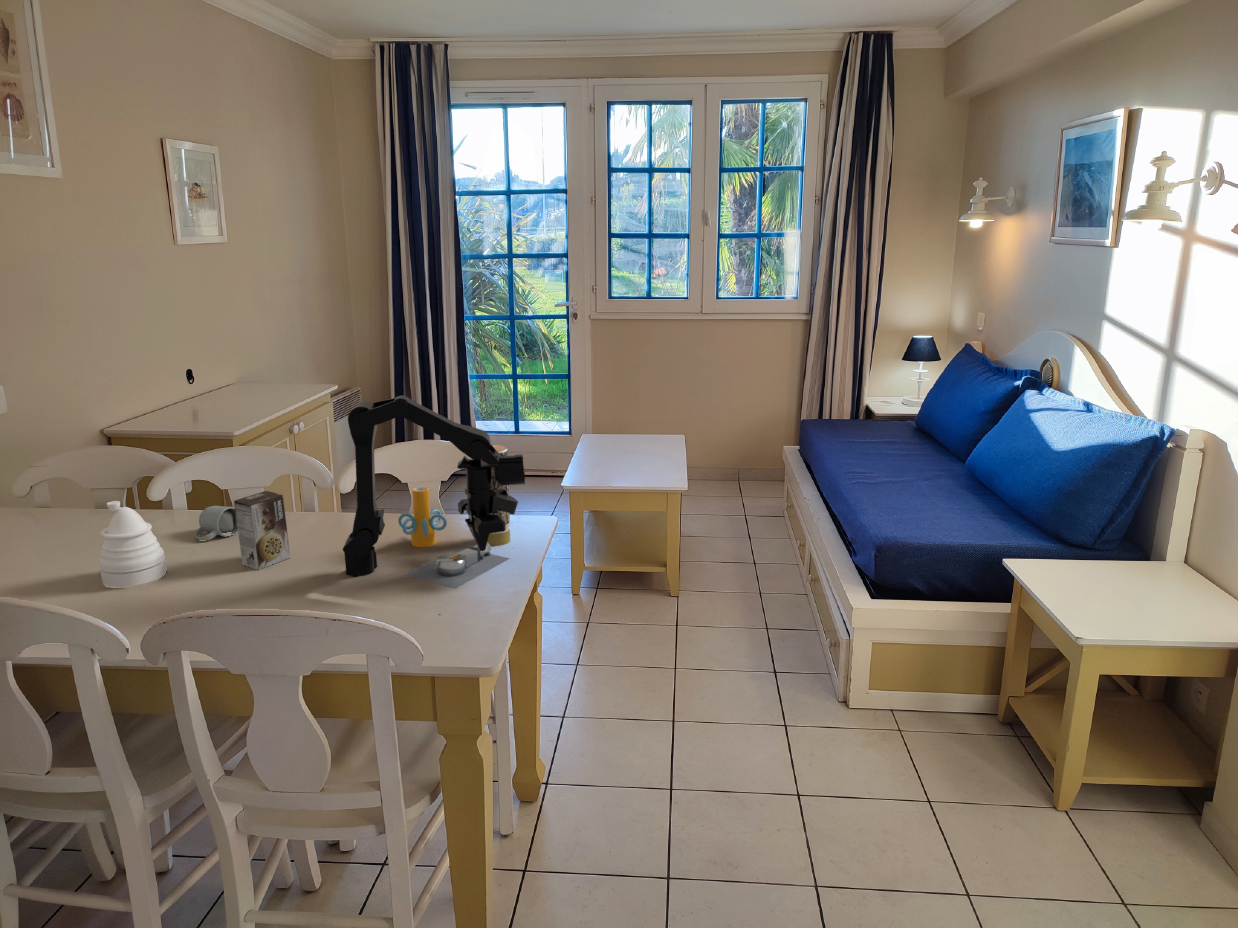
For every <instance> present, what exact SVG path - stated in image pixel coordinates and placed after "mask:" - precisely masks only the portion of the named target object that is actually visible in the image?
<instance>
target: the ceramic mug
mask: <svg viewBox="0 0 1238 928" xmlns="http://www.w3.org/2000/svg"><path fill="white" fill-rule="evenodd" d="M198 522H199V526H200V527H198V528H197V530H195V533H194V537H195V538H197V539H199V540H208V541H210V539H211V540H212V539H214V538H215V537H217V536H219V535H220V537H224V538H228V537H227V536H226V535H223V534H222V533H227V532H232V533H231V534H235V535H237V533H238V527H237V519H236V512H235V506H225V505H224V506H221V505H212V506H207V507H205V508H204V509H203V510H202V511H201V513H200V515H199V519H198ZM203 532H206V533H208V534H206V535H203V536H201V534H203ZM199 535H200V536H199ZM197 539H196V540H197Z"/></svg>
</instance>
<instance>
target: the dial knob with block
mask: <svg viewBox="0 0 1238 928" xmlns="http://www.w3.org/2000/svg"><path fill="white" fill-rule="evenodd" d="M473 546H474V545H473ZM473 546H472V545H469V546H468V547H467V548H466V549H465V550H463V551H460V552H458V553H450V552H448V553H444V554H441V555H439V556H437V557H436V559H435V560H437V573H438V574H440V575H443V576H455V575H459V574H462V573H464V572H465V570H466V567H467V566H469V565H471V564H474V563H476V562H478V561H480V560H481V555H480V549H479V548H477V547H473Z"/></svg>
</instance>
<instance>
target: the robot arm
mask: <svg viewBox="0 0 1238 928" xmlns="http://www.w3.org/2000/svg"><path fill="white" fill-rule="evenodd" d="M399 417H400V418H403V419H405V420H407V421H409V422H412V423H413V424H416V425H417V426H420V427H421V428H423V429H425V430H427V431H430V432H431V433H432V434H436V435H437V436H439V437H441V438H443V439H444V440H447V441H449V442H450V443H451V444H452V445H453V446H455V447H456V449H458V450H459V452H461V453H462V454H464V456H462V458H461V460H459V461H458V462H457V467H456V468H457V469H458V470H464V469H465V473H466V476H465V477H466V488H464V493H465V495H466V496H467V498H463V499H460V500H459V502H458V503H457V512H459V513H460V515H464V513H465V511H466V514H467V515H468V518H465V519H464V521H465V524H467V528H468V529H469V531H470V533H471V535H472V537H473V539H474V541H475V543H476V545H478V547H479V549H480V551H485V549H486V545H487V541H488V537H489V534H490V533H496V532H503V531H505V530H506V525H505V522H504V521H503V520H502V519H501V518H500V517H499V516H498V515H491V513H492V514H495V513H498V510H499V511H503V512H507V513H510V515H515V513H516V510H517V508H518V507H517V506H518V504H519V501H518V500H517V499H516V498H515V497H514V496H512V495H509V496H508V492H507V491H506V490H505V489H501V488H500V489H499V490H498V491H497V492H495V491H494V490H493V489H492V468H495V481H498V483H500V485H509V486H514V485H515V486H518V485H523V486H524V485H525V484H526V483H525V482H526V477H525V473H526V472H525V465H524V455H523V454H514V455H508V456H499V453H498V452H497V451H496V449H495V448H494V447H493V446H492V445H493V444H491V442H492V441H491V437H490V435H489V433H488V432H486V431H485V430H483V429H480V428H477V427H473V426H471V425H468V424H467V425H465V424H461V423H457V422H455V421H453V420H452V419H449V418H447V417H445V416H444V415H441V414H439V413H437V412H436V411H433V410H431V409H429V408H427V407H426V406H424V405H421V404H420V403H418V402H416V401H413V400H412V399H411V398H409V397H408V396H406V395H399V396H396V397H393V398H392V397H391V398H388V399H384V400H383V399H382V400H379V401H374V402H370V401H360V402H358V403H357V404H355V405H354V407H353V408H352V409H351V410H350V412H349V413H348V416H347V423H348V427H349V433H350V436H351V439H352V442H353V444H354V454H355V479H356V482H355V483H356V484H355V485H356V511H355V516H354V520H353V525H352V532H351V533H350V534H348V537H347V539H346V541H345V543H344V546H343V547H342V551H343V553H344V562H345V563H344V564H345V573H346V575H347V576H350V577H355V578H358V577H365V576H369V575H371V574H373V573H374V572H375V570H376V569H377V568H378V561H377V559H378V558H377V552H376V548H375V547H376V546H375V544H376V543H377V542H378V540H379V538H380V536H382V534H383V532H384V528H385V527H386V524H385V521H384V514H385V509H379V508H378V505H377V502H376V476H375V475H376V471H375V440H376V434H377V431H378V425H381V424H384V423H387V422H389V421H391V420H394V419H397V418H399ZM481 460H482V461H484V462H481Z"/></svg>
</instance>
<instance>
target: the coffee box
mask: <svg viewBox="0 0 1238 928" xmlns="http://www.w3.org/2000/svg"><path fill="white" fill-rule="evenodd" d="M233 504H234V508H235V512H236V519H237V527H238V532H237V533H238V540H239V548H240V555H241V564H243V566H244V565H246V566H245V567H248V566H249V567H248V568H251V569H254V570H257V569H260V570H262V568H263V569H265V568H268V567H271V566H273V565H275V564H278V563H280V562H282V561H285V560H288V559H290V558H291V552H290V544H289V542H290V541H289V533H288V527H287V525H288V524H287V519H286V511H285V510H286V509H285V503H284V496H283V494H279V493H276V492H274V491H270V490H265V491H261V492H258V493H255V494H252V495H249V496H248V495H247V496H245V497H242V498H239V499H235V500H234V501H233ZM272 564H273V565H272ZM267 566H268V567H267Z"/></svg>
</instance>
